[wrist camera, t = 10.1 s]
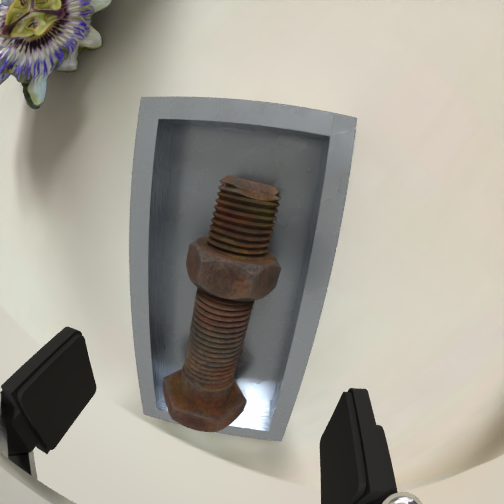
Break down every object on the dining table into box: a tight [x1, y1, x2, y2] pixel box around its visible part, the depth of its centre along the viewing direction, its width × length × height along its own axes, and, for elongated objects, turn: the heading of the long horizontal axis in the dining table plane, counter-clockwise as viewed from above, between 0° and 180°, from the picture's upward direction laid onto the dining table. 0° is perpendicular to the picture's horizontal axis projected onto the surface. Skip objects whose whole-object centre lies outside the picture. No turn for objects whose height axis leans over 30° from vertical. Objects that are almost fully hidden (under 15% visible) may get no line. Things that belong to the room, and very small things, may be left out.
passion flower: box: [0, 0, 112, 109], centre depth 11 cm, size 11×11×12 cm
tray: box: [129, 97, 357, 441], centre depth 17 cm, size 12×22×3 cm, turn 172°
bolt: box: [163, 175, 282, 432], centre depth 16 cm, size 6×5×15 cm
